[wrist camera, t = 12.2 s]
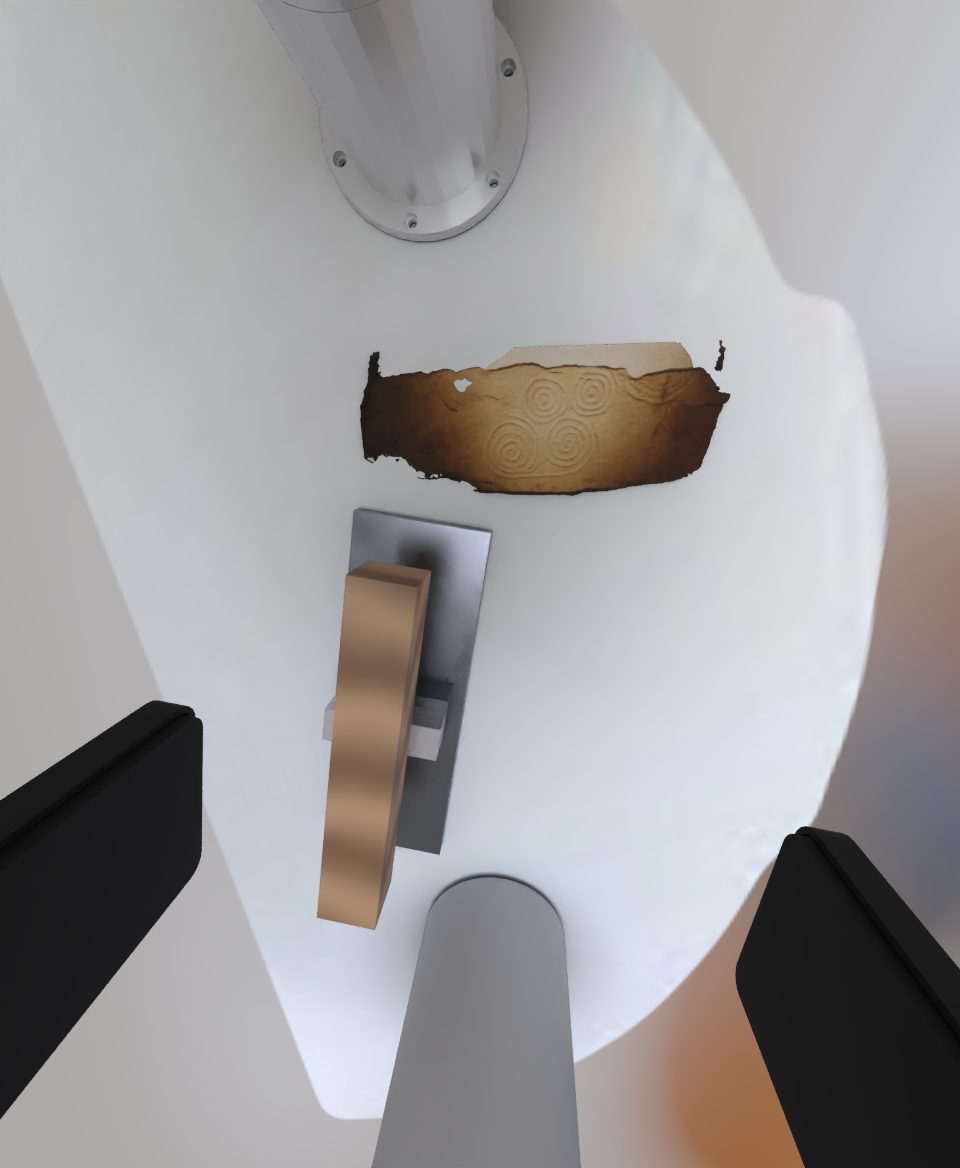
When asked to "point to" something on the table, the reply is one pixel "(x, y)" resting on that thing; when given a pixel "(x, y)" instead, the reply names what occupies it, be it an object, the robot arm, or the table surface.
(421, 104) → the robot arm
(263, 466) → the table surface
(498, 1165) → the cylinder vase
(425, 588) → the walnut bar
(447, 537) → the stand
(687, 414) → the parchment
